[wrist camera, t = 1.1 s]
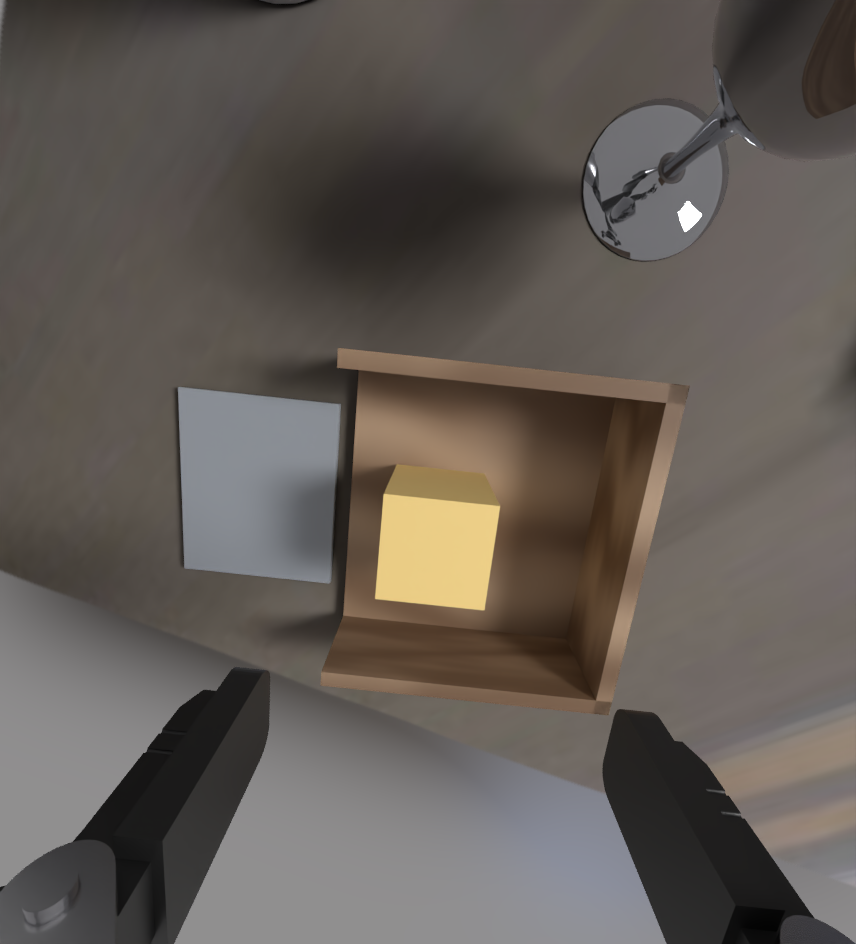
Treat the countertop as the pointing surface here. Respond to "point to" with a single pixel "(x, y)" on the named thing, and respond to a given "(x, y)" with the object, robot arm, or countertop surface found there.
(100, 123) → the countertop surface
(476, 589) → the block
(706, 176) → the wine glass
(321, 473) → the mat
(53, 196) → the countertop surface
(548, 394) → the box
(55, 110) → the countertop surface
